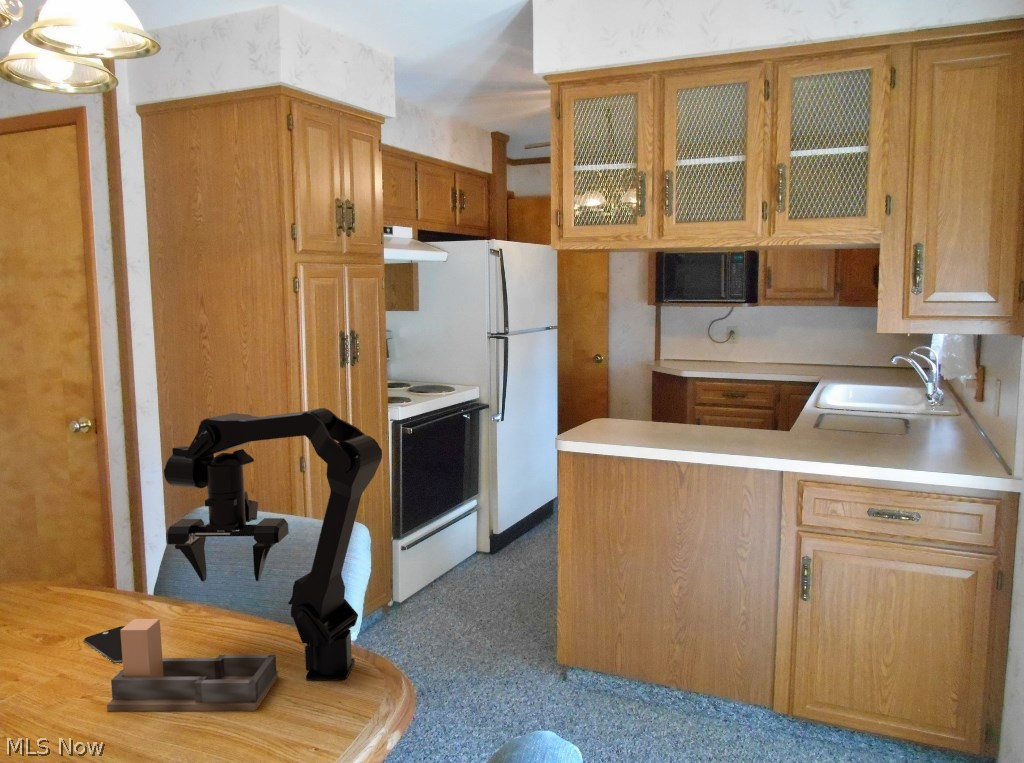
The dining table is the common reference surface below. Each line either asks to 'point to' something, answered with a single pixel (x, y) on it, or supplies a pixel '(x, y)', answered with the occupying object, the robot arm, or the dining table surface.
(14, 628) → the dining table surface
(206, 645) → the dining table surface
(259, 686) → the keyhole board
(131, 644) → the peg
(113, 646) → the smartphone
